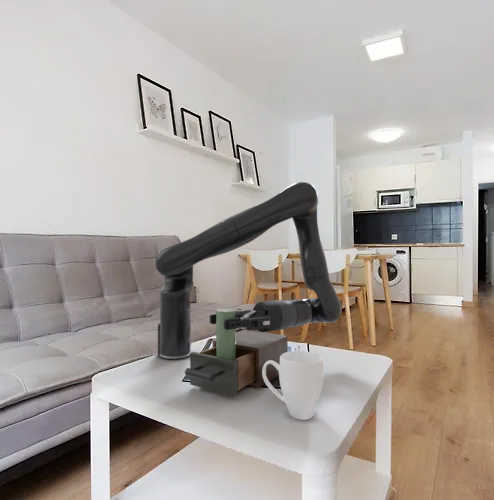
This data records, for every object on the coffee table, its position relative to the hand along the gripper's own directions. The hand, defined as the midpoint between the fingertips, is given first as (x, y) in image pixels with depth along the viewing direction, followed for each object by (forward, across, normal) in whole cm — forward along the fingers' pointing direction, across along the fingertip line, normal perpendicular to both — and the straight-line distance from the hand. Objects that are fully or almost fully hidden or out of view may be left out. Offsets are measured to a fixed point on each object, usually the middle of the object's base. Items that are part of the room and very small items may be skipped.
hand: (217, 322), depth 84 cm
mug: (-7, +19, +16) cm, 25 cm away
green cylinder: (-2, 0, +13) cm, 14 cm away
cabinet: (-12, -5, +16) cm, 20 cm away
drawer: (-1, 0, +15) cm, 15 cm away
